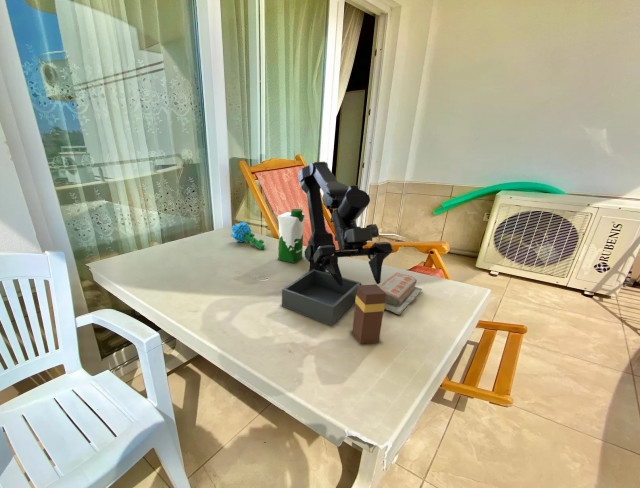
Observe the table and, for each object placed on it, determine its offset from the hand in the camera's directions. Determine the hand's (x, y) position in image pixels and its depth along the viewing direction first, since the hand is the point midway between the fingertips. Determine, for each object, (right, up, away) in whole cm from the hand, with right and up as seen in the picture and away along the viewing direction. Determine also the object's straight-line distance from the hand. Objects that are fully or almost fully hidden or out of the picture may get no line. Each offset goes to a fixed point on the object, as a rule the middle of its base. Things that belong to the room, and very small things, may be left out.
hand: (360, 284), depth 74 cm
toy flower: (-25, +11, +65) cm, 70 cm away
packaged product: (+16, -6, +16) cm, 24 cm away
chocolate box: (+1, -13, -1) cm, 13 cm away
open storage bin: (-6, -7, +15) cm, 17 cm away
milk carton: (-9, +5, +47) cm, 49 cm away
